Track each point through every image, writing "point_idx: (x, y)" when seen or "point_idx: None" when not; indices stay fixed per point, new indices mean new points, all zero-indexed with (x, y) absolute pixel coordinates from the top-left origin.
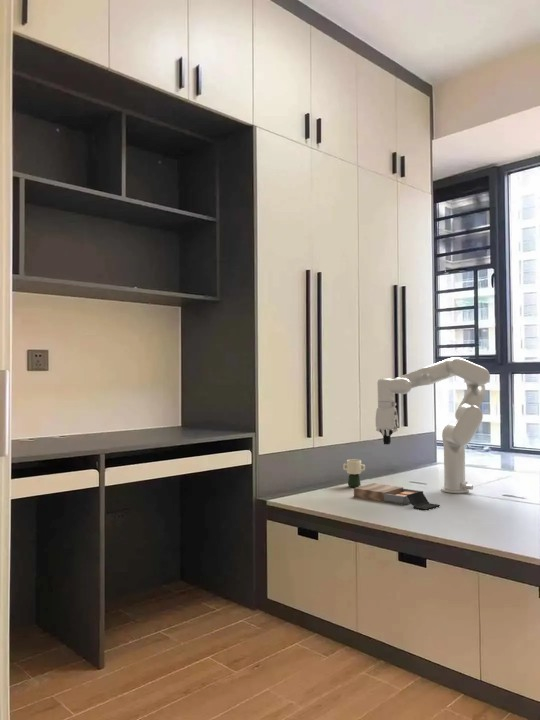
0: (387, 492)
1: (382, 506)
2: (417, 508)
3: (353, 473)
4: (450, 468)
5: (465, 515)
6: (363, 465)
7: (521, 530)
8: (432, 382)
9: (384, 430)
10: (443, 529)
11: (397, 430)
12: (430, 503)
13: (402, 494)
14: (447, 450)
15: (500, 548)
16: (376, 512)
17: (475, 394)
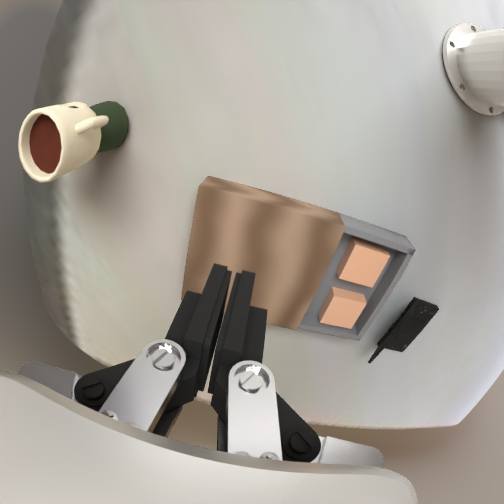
0: (303, 314)
1: (303, 350)
2: (386, 347)
3: (86, 162)
4: None
5: (462, 346)
6: (89, 129)
7: (494, 373)
8: None
9: (125, 409)
10: (408, 410)
11: (383, 462)
12: (420, 304)
13: (347, 278)
14: None
15: (443, 423)
16: (303, 387)
17: None
